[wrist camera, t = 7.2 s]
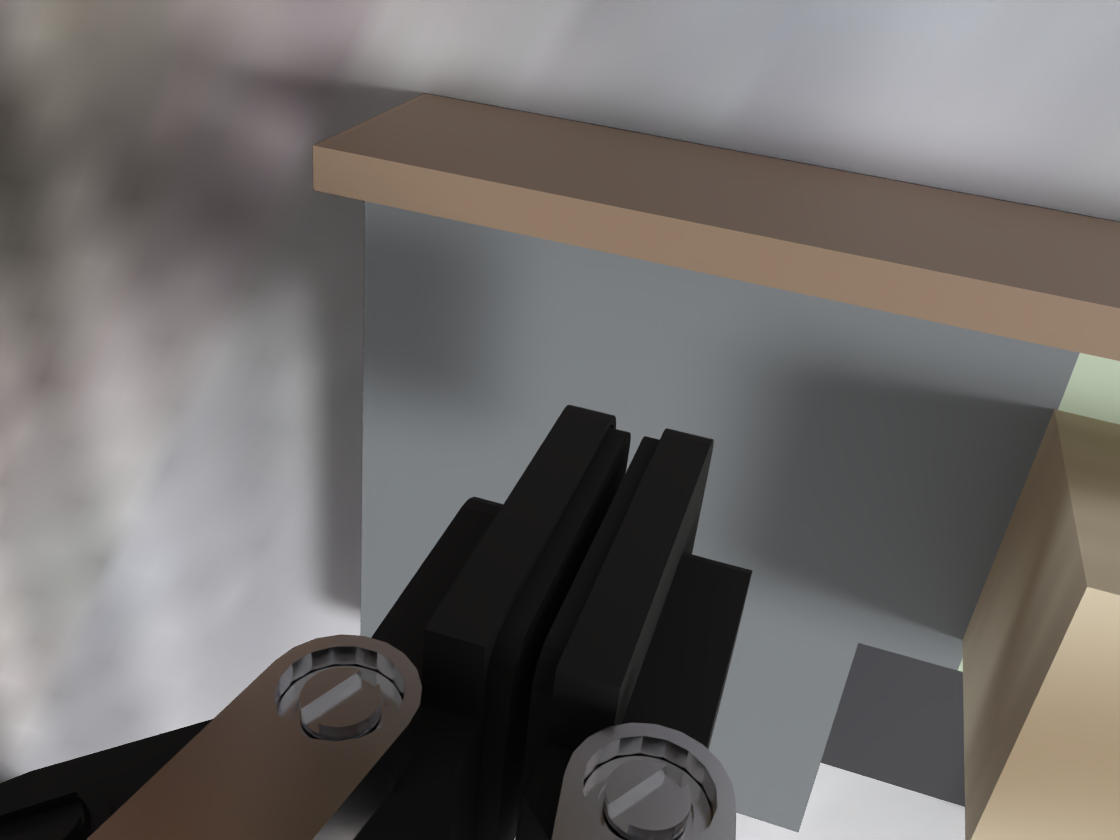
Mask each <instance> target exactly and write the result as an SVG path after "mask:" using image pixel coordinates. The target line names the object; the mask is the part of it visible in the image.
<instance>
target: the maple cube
mask: <svg viewBox="0 0 1120 840" xmlns="http://www.w3.org/2000/svg"><path fill="white" fill-rule="evenodd" d="M962 643H963V708H964V773H965V839H966V840H1120V425H1119V424H1115V423H1111V422H1107V421H1102V420H1098V419H1094V418H1090V417H1085V416H1081V415H1077V414H1073V413H1068V412H1064V411H1060V410H1056V409H1054V411H1053V414H1052V416H1051V419H1050V422H1049V424H1048V427H1047V429H1046V432H1045V434H1044V437H1043V439H1042V442H1041V444H1040V447H1039V449H1038V452H1037V454H1036V457H1035V459H1034V462H1033V464H1032V467H1031V469H1030V472H1029V474H1028V477H1027V479H1026V482H1025V484H1024V487H1023V489H1022V492H1021V494H1020V497H1019V499H1018V502H1017V504H1016V507H1015V509H1014V512H1013V514H1012V517H1011V519H1010V522H1009V524H1008V527H1007V529H1006V532H1005V535H1004V537H1003V540H1002V542H1001V545H1000V547H999V550H998V552H997V555H996V557H995V560H994V562H993V565H992V567H991V570H990V572H989V575H988V577H987V580H986V582H985V585H984V587H983V590H982V592H981V595H980V597H979V600H978V602H977V605H976V607H975V610H974V612H973V615H972V617H971V620H970V622H969V625H968V627H967V630H966V632H965V635H964V637H963V640H962Z"/></svg>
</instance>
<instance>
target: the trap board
mask: <svg viewBox="0 0 1120 840" xmlns="http://www.w3.org/2000/svg"><path fill="white" fill-rule="evenodd" d="M313 190H315V191H320V192H325V193H329V194H334V195H339V196H344V197H348V198H353V199H358V200H362V201H365V240H364V340H363V440H362V539H361V636H366V637H370V638H371V637H372V636H373V634H374V633H375V631H376V630H377V628H378V627H379V625H380V624H381V623H382V621H383V620H384V618H385V617H386V615H387V614H388V612H389V611H390V610H391V608H392V607H393V605H394V604H395V602H396V601H397V599H398V598H399V597H400V595H401V594H402V592H403V591H404V589H405V588H406V586H407V585H408V584H409V582H410V581H411V579H412V578H413V576H414V575H415V573H416V572H417V571H418V569H419V568H420V566H421V565H422V563H423V562H424V560H425V559H426V558H427V556H428V555H429V553H430V552H431V550H432V549H433V547H434V546H435V545H436V543H437V542H438V540H439V539H440V537H441V536H442V534H443V533H444V532H445V530H446V529H447V527H448V526H449V524H450V523H451V521H452V520H453V519H454V517H455V516H456V514H457V513H458V511H459V510H460V508H461V507H462V506H463V505H464V503H465V502H466V501H467V500H468V499H469V498H472V497H478V498H482V499H486V500H489V501H493V502H497V503H501V504H504V503H505V501H506V499H507V498H508V496H509V495H510V493H511V492H512V490H513V488H514V487H515V485H516V484H517V482H518V481H519V479H520V477H521V476H522V474H523V473H524V471H525V470H526V468H527V466H528V465H529V463H530V462H531V460H532V459H533V457H534V455H535V454H536V452H537V451H538V449H539V448H540V446H541V444H542V443H543V441H544V440H545V438H546V437H547V435H548V433H549V432H550V430H551V429H552V427H553V425H554V424H555V422H556V421H557V419H558V418H559V416H560V414H561V413H562V411H563V410H564V408H565V407H566V406H567V405H573V406H577V407H581V408H586V409H590V410H594V411H598V412H602V413H606V414H610V415H615V417H616V429H618V430H622V431H627V432H630V434H631V441H630V449H629V456H628V462H627V469H628V467H629V465H630V463H631V461H632V459H633V457H634V455H635V453H636V451H637V449H638V447H639V445H640V442H641V440H642V439H643V437H644V436H647V437H651V438H655V439H659V440H660V438H661V436H662V434H663V432H664V430H665V429H666V428H668V429H673V430H677V431H681V432H685V433H689V434H693V435H697V436H702V437H706V438H710V439H714V445H713V452H712V457H711V462H710V467H709V472H708V477H707V482H706V487H705V492H704V497H703V502H702V507H701V512H700V517H699V522H698V527H697V532H696V537H695V542H694V547H693V552H692V555H696V556H700V557H704V558H707V559H711V560H715V561H719V562H723V563H726V564H730V565H734V566H738V567H741V568H745V569H749V570H752V575H751V580H750V584H749V588H748V592H747V596H746V601H745V605H744V609H743V613H742V617H741V621H740V625H739V630H738V634H737V638H736V642H735V646H734V650H733V654H732V658H731V662H730V666H729V670H728V674H727V678H726V682H725V686H724V690H723V694H722V698H721V702H720V706H719V710H718V714H717V718H716V722H715V726H714V730H713V734H712V738H711V742H710V746H709V751H710V752H711V753H712V754H713V755H714V756H715V757H716V758H717V759H718V760H719V761H720V762H721V763H722V765H723V767H724V769H725V771H726V772H727V774H728V776H729V778H730V780H731V782H732V784H733V790H734V796H735V801H736V812H737V813H740V814H743V815H746V816H749V817H752V818H755V819H758V820H762V821H765V822H768V823H771V824H774V825H777V826H780V827H783V828H786V829H789V830H793V831H796V832H799V829H800V825H801V822H802V819H803V816H804V813H805V810H806V806H807V803H808V800H809V797H810V794H811V791H812V788H813V784H814V781H815V778H816V775H817V772H818V769H819V765H820V762H821V763H824V764H827V765H831V766H834V767H837V768H841V769H844V770H847V771H850V772H854V773H857V774H860V775H863V776H867V777H870V778H873V779H876V780H880V781H883V782H886V783H889V784H893V785H896V786H899V787H902V788H906V789H909V790H912V791H915V792H919V793H922V794H925V795H928V796H932V797H935V798H938V799H941V800H945V801H948V802H951V803H955V804H958V805H961V806H964V807H965V773H964V708H963V643H962V640H963V637H964V635H965V632H966V630H967V627H968V625H969V622H970V620H971V617H972V615H973V612H974V610H975V607H976V605H977V602H978V600H979V597H980V595H981V592H982V590H983V587H984V585H985V582H986V580H987V577H988V575H989V572H990V570H991V567H992V565H993V562H994V560H995V557H996V555H997V552H998V550H999V547H1000V545H1001V542H1002V540H1003V537H1004V535H1005V532H1006V529H1007V527H1008V524H1009V522H1010V519H1011V517H1012V514H1013V512H1014V509H1015V507H1016V504H1017V502H1018V499H1019V497H1020V494H1021V492H1022V489H1023V487H1024V484H1025V482H1026V479H1027V477H1028V474H1029V472H1030V469H1031V467H1032V464H1033V462H1034V459H1035V457H1036V454H1037V452H1038V449H1039V447H1040V444H1041V442H1042V439H1043V437H1044V434H1045V432H1046V429H1047V427H1048V424H1049V422H1050V419H1051V416H1052V414H1053V411H1054V409H1056V410H1060V411H1064V412H1068V413H1073V414H1077V415H1081V416H1085V417H1090V418H1094V419H1098V420H1102V421H1107V422H1111V423H1115V424H1119V425H1120V222H1116V221H1110V220H1105V219H1099V218H1094V217H1089V216H1083V215H1078V214H1073V213H1067V212H1062V211H1056V210H1051V209H1046V208H1040V207H1035V206H1029V205H1024V204H1019V203H1013V202H1008V201H1002V200H997V199H992V198H986V197H981V196H975V195H970V194H965V193H959V192H954V191H948V190H943V189H938V188H932V187H927V186H921V185H916V184H911V183H905V182H900V181H895V180H889V179H884V178H878V177H873V176H868V175H862V174H857V173H851V172H846V171H841V170H835V169H830V168H824V167H819V166H814V165H808V164H803V163H797V162H792V161H787V160H781V159H776V158H770V157H765V156H760V155H754V154H749V153H743V152H738V151H733V150H727V149H722V148H716V147H711V146H706V145H700V144H695V143H690V142H684V141H679V140H673V139H668V138H663V137H657V136H652V135H646V134H641V133H636V132H630V131H625V130H619V129H614V128H609V127H603V126H598V125H592V124H587V123H582V122H576V121H571V120H565V119H560V118H555V117H549V116H544V115H538V114H533V113H528V112H522V111H517V110H511V109H506V108H501V107H495V106H490V105H485V104H479V103H474V102H468V101H463V100H458V99H452V98H447V97H441V96H436V95H431V94H425V93H424V94H421V95H419V96H417V97H415V98H413V99H411V100H409V101H406V102H404V103H402V104H400V105H398V106H396V107H394V108H391V109H389V110H387V111H385V112H383V113H381V114H379V115H377V116H374V117H372V118H370V119H368V120H366V121H364V122H362V123H359V124H357V125H355V126H353V127H351V128H349V129H347V130H345V131H342V132H340V133H338V134H336V135H334V136H332V137H330V138H327V139H325V140H323V141H321V142H319V143H317V144H315V145H313ZM627 469H626V471H627Z"/></svg>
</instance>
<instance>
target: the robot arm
mask: <svg viewBox="0 0 1120 840" xmlns="http://www.w3.org/2000/svg"><path fill="white" fill-rule="evenodd" d="M630 441H631V434H630V432H627V431H622V430H618V429H616V417H615V415H610V414H606V413H602V412H598V411H594V410H590V409H586V408H581V407H577V406H573V405H567V406H566V407H565V408H564V410H563V411H562V413H561V414H560V416H559V418H558V419H557V421H556V422H555V424H554V425H553V427H552V429H551V430H550V432H549V433H548V435H547V437H546V438H545V440H544V441H543V443H542V444H541V446H540V448H539V449H538V451H537V452H536V454H535V455H534V457H533V459H532V460H531V462H530V463H529V465H528V466H527V468H526V470H525V471H524V473H523V474H522V476H521V477H520V479H519V481H518V482H517V484H516V485H515V487H514V488H513V490H512V492H511V493H510V495H509V496H508V498H507V499H506V501H505V503H504V504H501V503H497V502H493V501H489V500H486V499H482V498H478V497H472V498H469V499H468V500H467V501H466V502H465V503H464V505H463V506H462V507H461V508H460V510H459V511H458V513H457V514H456V516H455V517H454V519H453V520H452V521H451V523H450V524H449V526H448V527H447V529H446V530H445V532H444V533H443V534H442V536H441V537H440V539H439V540H438V542H437V543H436V545H435V546H434V547H433V549H432V550H431V552H430V553H429V555H428V556H427V558H426V559H425V560H424V562H423V563H422V565H421V566H420V568H419V569H418V571H417V572H416V573H415V575H414V576H413V578H412V579H411V581H410V582H409V584H408V585H407V586H406V588H405V589H404V591H403V592H402V594H401V595H400V597H399V598H398V599H397V601H396V602H395V604H394V605H393V607H392V608H391V610H390V611H389V612H388V614H387V615H386V617H385V618H384V620H383V621H382V623H381V624H380V625H379V627H378V628H377V630H376V631H375V633H374V634H373V636H372V637H371V638H370V637H366V636H356V635H335V636H329V637H322V638H316V639H314V640H311V641H309V642H306V643H304V644H301V645H298V646H296V647H294V648H292V649H291V650H289V651H288V652H287V653H285V654H284V655H282V656H281V657H280V658H278V659H277V660H275V661H274V662H273V663H272V664H271V665H270V666H269V667H268V668H267V669H266V670H265V671H264V672H263V673H262V674H261V675H259V676H258V677H257V678H256V679H255V680H254V681H253V682H252V683H251V684H250V685H249V686H248V687H247V688H246V689H245V690H244V691H243V692H242V693H240V694H239V695H238V696H237V697H236V698H235V699H234V700H233V701H232V702H231V703H230V704H229V705H228V706H227V707H226V708H225V709H224V710H223V711H221V712H220V713H219V714H218V715H217V716H216V717H215V718H214V719H212V720H208V721H205V722H201V723H198V724H194V725H191V726H187V727H184V728H180V729H177V730H173V731H170V732H166V733H163V734H159V735H156V736H152V737H149V738H145V739H142V740H138V741H135V742H131V743H128V744H124V745H121V746H118V747H114V748H111V749H107V750H104V751H100V752H97V753H93V754H90V755H86V756H83V757H79V758H76V759H72V760H69V761H65V762H62V763H58V764H55V765H51V766H48V767H44V768H41V769H37V770H34V771H30V772H28V773H25V774H23V775H20V776H18V777H15V778H13V779H10V780H8V781H5V782H3V783H1V784H0V840H514V839H515V840H735V838H736V801H735V796H734V790H733V784H732V782H731V780H730V778H729V776H728V774H727V772H726V771H725V769H724V767H723V765H722V763H721V762H720V761H719V760H718V759H717V758H716V757H715V756H714V755H713V754H712V753H711V752H710V751H709V746H710V742H711V738H712V734H713V730H714V726H715V722H716V718H717V714H718V710H719V706H720V702H721V698H722V694H723V690H724V686H725V682H726V678H727V674H728V670H729V666H730V662H731V658H732V654H733V650H734V646H735V642H736V638H737V634H738V630H739V625H740V621H741V617H742V613H743V609H744V605H745V601H746V596H747V592H748V588H749V584H750V580H751V575H752V570H749V569H745V568H741V567H738V566H734V565H730V564H726V563H723V562H719V561H715V560H711V559H707V558H704V557H700V556H696V555H692V552H693V547H694V542H695V537H696V532H697V527H698V522H699V517H700V512H701V507H702V502H703V497H704V492H705V487H706V482H707V477H708V472H709V467H710V462H711V457H712V452H713V445H714V439H710V438H706V437H702V436H697V435H693V434H689V433H685V432H681V431H677V430H673V429H668V428H666V429H665V430H664V432H663V434H662V436H661V438H660V440H659V439H655V438H651V437H647V436H644V437H643V439H642V440H641V442H640V445H639V447H638V449H637V451H636V453H635V455H634V457H633V459H632V461H631V463H630V465H629V467H628V469H627V462H628V456H629V449H630ZM626 469H627V471H626ZM515 837H516V838H515Z"/></svg>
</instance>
